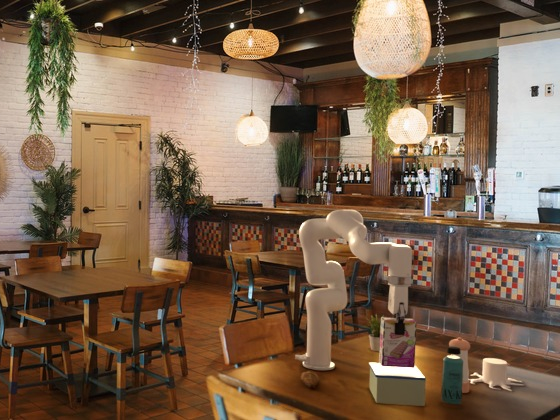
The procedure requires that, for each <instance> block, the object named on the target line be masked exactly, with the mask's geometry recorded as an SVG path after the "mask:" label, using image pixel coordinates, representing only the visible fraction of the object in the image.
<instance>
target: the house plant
mask: <svg viewBox="0 0 560 420" xmlns="http://www.w3.org/2000/svg"><path fill="white" fill-rule="evenodd" d="M381 317H384V318H387V316H385V314H383V315H382V316H381ZM365 319H366V320H367V322H368V323H369V324H370V327H369V326H367V325H364V326H363V328H367V329H368V330H370V331H371V334H369V335H368V338H369V345H370V350H371V351H374V352H380V329H381V318H380V319H379V318H378V315H377V314H375V317H374V316H373V315H372V314H370V319H368V318H367V317H365Z"/></svg>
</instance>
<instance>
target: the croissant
mask: <svg viewBox="0 0 560 420" xmlns="http://www.w3.org/2000/svg"><path fill="white" fill-rule="evenodd" d="M300 380H301V381H302V383H303V384H304V385H305V386H306V387H308V388H310V389H314V388H316V386H317V385H318V382H319V380H320V378H319V376H318V375H317V373H316V372H314V371H312V370H307V371H303V372H302V373H301V376H300Z"/></svg>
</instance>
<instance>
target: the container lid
mask: <svg viewBox="0 0 560 420" xmlns="http://www.w3.org/2000/svg"><path fill="white" fill-rule="evenodd" d="M368 365H369V369H370V368H371V369H372V371H373V373H374V375H375V377H379V378H396V379H412V380H427V379H426V376H425V375H424V374H423V373H422V372H421V370H420V369H419V368H418V367H417V365H416V364H415V365H414V368H409V367H388V366H381V364H380V363H379V362H368Z"/></svg>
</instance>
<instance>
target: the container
mask: <svg viewBox="0 0 560 420" xmlns="http://www.w3.org/2000/svg"><path fill="white" fill-rule="evenodd" d="M426 380H427V379H426ZM426 380H412V379H396V378H379V377H375V375H374V373H373V371H372V369H371V368H370V367H369V391H370V392H371V395H372V397H373V399H374V401H375V403H376V404H384V405H400V406H401V405H402V406H415V407H425V406H426V405H425V404H426V383H427V381H426Z"/></svg>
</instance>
